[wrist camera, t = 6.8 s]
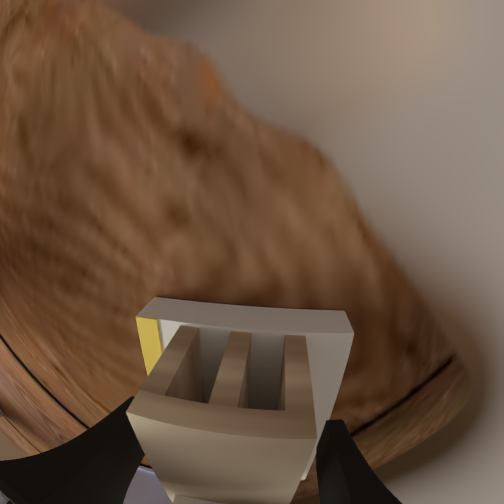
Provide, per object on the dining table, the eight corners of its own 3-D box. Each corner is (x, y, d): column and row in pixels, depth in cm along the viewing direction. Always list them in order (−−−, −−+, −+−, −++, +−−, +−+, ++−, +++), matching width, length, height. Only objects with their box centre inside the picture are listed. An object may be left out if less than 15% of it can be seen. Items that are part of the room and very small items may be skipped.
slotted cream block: (277, 475, 13) (273, 535, 9) (203, 467, 14) (187, 524, 9) (305, 335, 10) (317, 438, 5) (180, 325, 11) (125, 412, 6)
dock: (304, 459, 15) (304, 480, 13) (183, 446, 16) (176, 467, 14) (344, 310, 12) (354, 334, 10) (155, 296, 13) (135, 316, 11)
